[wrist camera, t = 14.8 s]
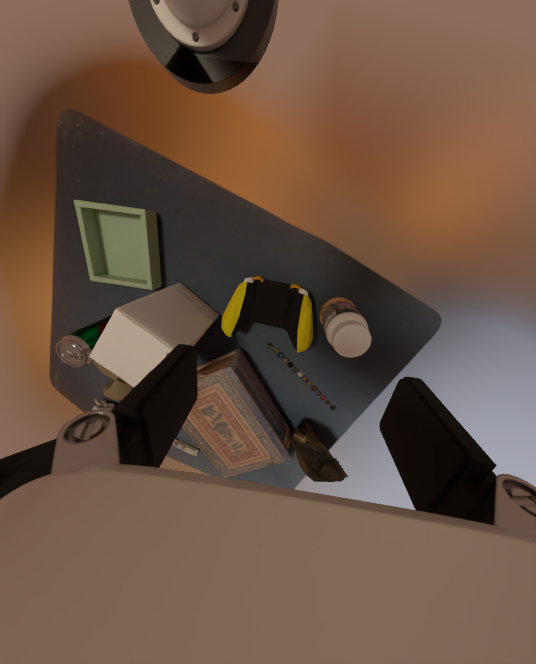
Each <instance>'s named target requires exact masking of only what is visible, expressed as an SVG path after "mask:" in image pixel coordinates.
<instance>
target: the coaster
mask: <svg viewBox="0 0 536 664" xmlns="http://www.w3.org/2000/svg"><path fill="white" fill-rule="evenodd" d="M335 300H345V301H348V302H350V303H351V304H352V305H353V306H354V307H355V305H354V304H353V303H352V302H351V301H350V300H348V299H346V298H343V297H336V298H332V299H330V300H328V301H327V302H325V303H324V305H323V306H322V307H321V310H320V313H319V317H320V321H321V324H322V320H321V315H322V311H323V309H324V308H325V307H326V306H327V305H328V304H329V303H330V302H332V301H335ZM355 308H356V307H355ZM322 325H323V324H322Z"/></svg>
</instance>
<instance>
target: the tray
mask: <svg viewBox="0 0 536 664" xmlns="http://www.w3.org/2000/svg"><path fill="white" fill-rule="evenodd" d="M74 204H75V208H76V212H77V217H78V222H79V227H80V232H81V237H82V241H83V246H84V251H85V256H86V261H87V266H88V271H89V275H90V280H91V281H97V282H104V283H110V284H117V285H123V286H130V287H136V288H143V289H149V290H153V289H156V288H159V287H161V286H162V282H161V269H160V255H159V242H158V228H157V215H156V211H151V210H145V209H138V208H131V207H123V206H116V205H109V204H101V203H94V202H87V201H80V200H74Z"/></svg>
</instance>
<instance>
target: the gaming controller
mask: <svg viewBox="0 0 536 664" xmlns="http://www.w3.org/2000/svg"><path fill="white" fill-rule="evenodd" d="M251 322H255V323H260V324H265V325H269V326H274V327H278V328H282V329H284V330H286V331H287V332H288V334H289V337H290V339H291V341H292V343H293V345H294V347H295V349H296V351H297V352H302V351H304V350H306V349H307V348H309V347H310V344H311V342H312V339H313V316H312V303H311V299H310V297H309V296H308V292H307V291H306V290H304V289H303V288H301V287H300V286H299V285H297V284H292V285H289V284H284V283H280V282H275V281H271V280H266V279H264V278H263V277H262V276H256V277H251V278H245V280H244V282H242V283H241V284H240V285H239V286H238V287H237V289H236V291H235V293H234V295H233V296H232V298H231V300H230V302H229V304H228V306H227V308H226V310H225V312H224V314H223V316H222V325H221V328H222V330H223V331H224V333H225V334H226V335H227V336H229V337H232V336H233V335H234V334H236V333H237V332H238V331H239V330H241V329H242V328H243V327H244V326H245V325H246V324H248V323H251Z"/></svg>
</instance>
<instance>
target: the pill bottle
mask: <svg viewBox="0 0 536 664" xmlns="http://www.w3.org/2000/svg"><path fill="white" fill-rule="evenodd" d="M321 320H322V324H323V328H324V331H325V334H326V337H327V340H328V342H329V343H330V344H331V345H332V346H333V347H334V349H335V350H336V352H337V353H338V354H340V355H342V356H344V357H350V358H351V357H357V356H360V355H362V354H363V353H365V352H366V351H367V350H368V348H369V347H370V344H371V335H370V332H369V331H368V325H367V322H366V320H365V319H364V318H363V317H362V315H361V314H360V313H359V312H358V311H357V309H356V308H355V307H354V306H353V305H352V304H351V303H350V302H348V301H345V300H335V301H332V302H330V303H329V304H328V305H327V306H326V307H325V308H324V309H323V311H322V315H321Z"/></svg>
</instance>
